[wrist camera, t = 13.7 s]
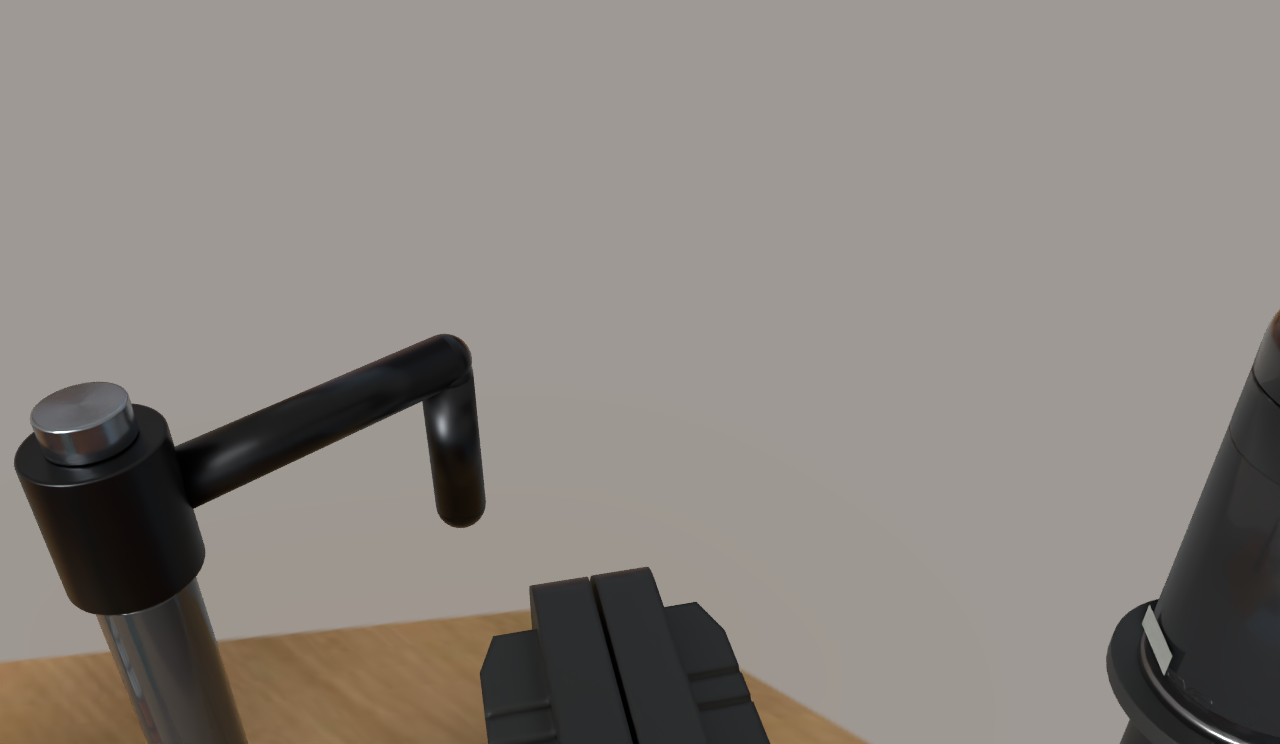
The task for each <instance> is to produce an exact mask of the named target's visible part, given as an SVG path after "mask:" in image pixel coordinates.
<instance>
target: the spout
mask: <svg viewBox="0 0 1280 744" xmlns="http://www.w3.org/2000/svg"><path fill="white" fill-rule="evenodd" d="M471 365H472V357H471V353H470V350H469V348H468V346H467V345H466V344H465V343H464V342H463V341H462V340H461V339H460V338H458V337H456V336H453V335H449V334H440V335H436V336H433V337H431V338H428V339H426V340H424V341H421V342H419V343H416V344H414V345H412V346H409V347H407V348H405V349H403V350H400V351H398V352H396V353H393V354H391V355H388V356H386V357H384V358H381V359H379V360H377V361H374V362H372V363H370V364H367V365H365V366H363V367H360V368H358V369H356V370H353V371H351V372H349V373H346V374H344V375H342V376H339V377H337V378H334V379H332V380H330V381H328V382H325V383H323V384H320V385H318V386H316V387H314V388H311V389H309V390H306V391H304V392H302V393H299V394H297V395H295V396H292V397H290V398H288V399H285V400H283V401H281V402H279V403H276V404H274V405H271V406H269V407H267V408H264V409H262V410H260V411H257V412H255V413H253V414H250V415H248V416H245V417H243V418H241V419H239V420H236V421H234V422H231V423H229V424H227V425H224V426H222V427H220V428H217V429H215V430H213V431H210V432H208V433H206V434H203V435H201V436H199V437H197V438H194V439H192V440H190V441H187V442H185V443H182V444H180V445H178V446H176V447H174V444H173V440H172V437H171V434H170V430H169V427H168V424H167V422H166V420H165V418H164V417H163V416H162V415H161V414H160V413H159V412H157V411H156V410H154V409H152V408H150V407H147V406H143V405H139V404H131V401H130V399H129V395H128V393H127V392H126V390H124V388H122V387H121V386H118V385H116V384H113V383H108V382H90V383H83V384H78V385H74V386H70V387H67V388H64V389H62V390H59V391H56V392H54V393H53V394H50V395H49V396H47V397H45V398H44V399H42V400H41V401H40V402H39V403H38V404H37V405H36V406H35V407H34V408H33V410H32V412H31V415H30V422H31V425H32V427H33V430H34V432H33V433H32V434H31V435H29V436H28V437H27V438H26V439H25V440H24V441H23V443H22V444H21V445H20V447H19V448H18V450H17V452H16V455H15V459H14V467H15V470H16V473H17V475H18V478H19V480H20V482H21V485H22V487H23V489H24V492H25V494H26V497H27V499H28V502H29V504H30V507H31V509H32V511H33V514H34V516H35V519H36V520H37V523H38V526H39V528H40V531H41V533H42V535H43V538H44V540H45V543H46V545H47V547H48V550H49V552H50V555H51V557H52V559H53V562H54V564H55V566H56V569H57V572H58V574H59V576H60V579H61V581H62V584H63V586H64V588H65V591H66V593H67V596H68V597H69V599H70V601H71V602H72V603H73V604H74V605H75V606H77V607H78V608H80V609H81V610H84V611H86V612H89V613H92V614H97V615H107V616H113V615H124V614H130V613H135V612H139V611H142V610H145V609H148V608H151V607H154V606H156V605H158V604H160V603H162V602H165V601H166V600H168V599H170V598H172V597H173V596H175V595H176V594H178V593H179V592H181V591H182V590H183V589H184V588H185V587H187V586H188V585H189V584H190V583H191V582H192V581H193V580H194V578H195V577H196V576H197V574H198V573H199V571H200V569H201V567H202V565H203V563H204V558H205V547H204V543H203V540H202V536H201V533H200V530H199V527H198V523H197V520H196V517H195V513H194V510H193V509H194V508H196V507H198V506H200V505H202V504H204V503H206V502H209V501H211V500H213V499H215V498H217V497H219V496H221V495H223V494H226V493H228V492H230V491H232V490H234V489H236V488H238V487H240V486H243V485H245V484H247V483H249V482H251V481H253V480H255V479H257V478H260V477H261V476H264V475H266V474H268V473H270V472H272V471H274V470H277V469H279V468H281V467H283V466H285V465H287V464H289V463H291V462H294V461H296V460H298V459H300V458H302V457H304V456H306V455H308V454H310V453H313V452H315V451H317V450H319V449H321V448H323V447H325V446H328V445H330V444H332V443H334V442H336V441H338V440H340V439H342V438H345V437H347V436H349V435H351V434H353V433H355V432H357V431H359V430H362V429H364V428H366V427H368V426H370V425H372V424H374V423H376V422H378V421H381V420H383V419H385V418H387V417H389V416H391V415H393V414H396V413H398V412H400V411H402V410H404V409H406V408H408V407H410V406H413V405H415V404H417V403H419V402H421V401H422V402H423V410H424V417H425V425H426V432H427V440H428V447H429V455H430V463H431V470H432V478H433V486H434V493H435V501H436V508H437V512H438V514H439V515H440V518H441V519H442V520H443V521H444V522H445V523H447V524H448V525H450V526H452V527H456V528H465V527H468V526H471V525H473V524H475V523H476V522H477V521H478V520H479V519H480V518H481V516H482V515H483V513H484V510H485V503H486V500H485V490H484V480H483V469H482V459H481V449H480V438H479V428H478V418H477V408H476V398H475V387H474V377H473V369H472V366H471Z"/></svg>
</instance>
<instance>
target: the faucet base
mask: <svg viewBox="0 0 1280 744" xmlns="http://www.w3.org/2000/svg"><path fill="white" fill-rule="evenodd" d="M96 616H97V619H98V621H99V624H100V626H101V629H102V631H103V634H104V636H105V639H106V641H107V644H108V646H109V649H110V651H111V654H112V656H113V659H114V661H115V664H116V666H117V669H118V671H119V674H120V676H121V679H122V681H123V684H124V686H125V689H126V691H127V694H128V696H129V699H130V701H131V704H132V706H133V709H134V711H135V714H136V716H137V719H138V721H139V724H140V726H141V729H142V731H143V734H144V736H145V739H146V741H147V744H249V743H248V740H247V737H246V734H245V731H244V728H243V724H242V721H241V718H240V715H239V712H238V709H237V705H236V702H235V699H234V696H233V693H232V690H231V686H230V683H229V680H228V677H227V674H226V671H225V667H224V664H223V661H222V658H221V655H220V652H219V648H218V645H217V642H216V639H215V636H214V632H213V629H212V626H211V623H210V620H209V617H208V613H207V610H206V607H205V604H204V601H203V598H202V594H201V591H200V588H199V585H198V582H197V579H196V577H195V578H194V580H193V581H192V582H191V583H190V584H189V585H188V586H187V587H185V588H184V589H183V590H182V591H181V592H179V593H178V594H176V595H175V596H173V597H172V598H170V599H168V600H166V601H165V602H162V603H160V604H158V605H156V606H154V607H151V608H148V609H145V610H142V611H139V612H135V613H130V614H124V615H113V616H107V615H97V614H96Z"/></svg>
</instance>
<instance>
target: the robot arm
mask: <svg viewBox="0 0 1280 744" xmlns="http://www.w3.org/2000/svg"><path fill="white" fill-rule="evenodd" d="M530 606H531V620H532V630H528V631H522V632H516V633H510V634H504V635H498V636H493V638H492V641H491V644H490V647H489V649H488V652H487V655H486V658H485V660H484V663H483V666H482V669H481V671H480V679H481V687H482V695H483V704H484V712H485V721H486V729H487V738H488V744H770V742H769V740H768V737H767V735H766V732H765V730H764V727H763V725H762V722H761V720H760V717H759V715H758V712H757V710H756V707H755V705H754V702H752V701H751V698H750V692H749V690H748V687H747V685H746V682H745V680H744V677H743V675H742V672H741V673H740V671H739V665H738V663H737V660H736V658H735V655H734V652H733V650H732V647H731V645H730V642H729V640H728V638H727V635H726V632H725V630H724V629H723V628H722V627H721V626H720V625H719V624H718V623H717V622H716V621H715V620H714V619H713V618H712V617H711V616H710V615H709V614H708V613H707V612H706V611H705V610H704V609H703V608H702V607H701V606H700V605H699V604H698V603H697V602H693V603H687V604H681V605H675V606H669V607H664V606H663V603H662V600H661V597H660V594H659V591H658V588H657V585H656V582H655V579H654V577H653V574H652V572H651V570H650V569H649V567H643V568H637V569H630V570H624V571H618V572H612V573H605V574H599V575H593V576H591V578H590V581H589V579H588V577H583V578H576V579H570V580H564V581H557V582H551V583H544V584H538V585H532V586H530ZM1142 625H1143V627H1144V632H1143V635H1142V637H1141V640H1140V643H1139V648H1138V658H1139V664H1140V668H1141V671H1142V673H1143V676H1144V678H1145V680H1146V682H1147V684H1148V685H1149V687H1150V689H1151V690H1152V692H1153V693H1154V694H1155V696H1156V697H1157V698H1158V699H1159V701H1160V702H1161V703H1162V704H1163V705H1164V706H1165V707H1166V708H1167V709H1168V710H1169V711H1170V712H1171V713H1172V714H1173V715H1174V716H1175V717H1177V718H1178V719H1179V720H1180V721H1181V722H1183V723H1184V724H1185V725H1187V726H1188V727H1189V728H1191V729H1192V730H1194V731H1195V732H1197V733H1198V734H1200V735H1201V736H1203V737H1205V738H1207V739H1208V740H1210V741H1212V742H1214V743H1216V744H1280V310H1279V311H1278V312H1277V313H1276V314H1275V316H1274V318H1273V319H1272V321H1271V322H1270V324H1269V326H1268V328H1267V330H1266V333H1265V334H1264V337H1263V340H1262V342H1261V345H1260V347H1259V350H1258V352H1257V355H1256V357H1255V360H1254V363H1253V366H1252V368H1251V370H1250V373H1249V376H1248V378H1247V380H1246V383H1245V386H1244V388H1243V390H1242V393H1241V396H1240V398H1239V401H1238V403H1237V406H1236V408H1235V411H1234V413H1233V416H1232V419H1231V421H1230V424H1229V426H1228V429H1227V431H1226V434H1225V436H1224V439H1223V441H1222V444H1221V446H1220V449H1219V451H1218V454H1217V456H1216V459H1215V461H1214V464H1213V466H1212V469H1211V471H1210V474H1209V476H1208V479H1207V481H1206V484H1205V486H1204V489H1203V491H1202V494H1201V497H1200V499H1199V501H1198V504H1197V506H1196V509H1195V511H1194V514H1193V516H1192V519H1191V521H1190V524H1189V526H1188V529H1187V531H1186V534H1185V536H1184V539H1183V541H1182V544H1181V546H1180V548H1179V551H1178V553H1177V556H1176V558H1175V561H1174V564H1173V566H1172V569H1171V571H1170V573H1169V576H1168V579H1167V581H1166V583H1165V586H1164V588H1163V591H1162V593H1161V595H1160V598H1159V600H1158V603H1157V605H1156V608H1155V610H1154V613H1153V611H1152V609H1151V607H1150V605H1149V607H1148V610H1147V612H1146V615H1145V617H1144V620H1143V622H1142Z"/></svg>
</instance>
